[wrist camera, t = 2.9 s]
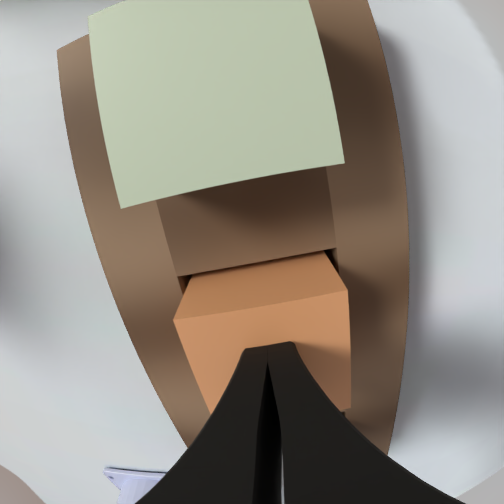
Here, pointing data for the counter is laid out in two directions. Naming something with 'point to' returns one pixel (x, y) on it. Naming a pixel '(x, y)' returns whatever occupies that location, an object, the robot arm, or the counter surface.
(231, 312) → the orange cube
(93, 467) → the counter surface
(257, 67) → the pale green cube
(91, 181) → the brown flat rectangular tray
